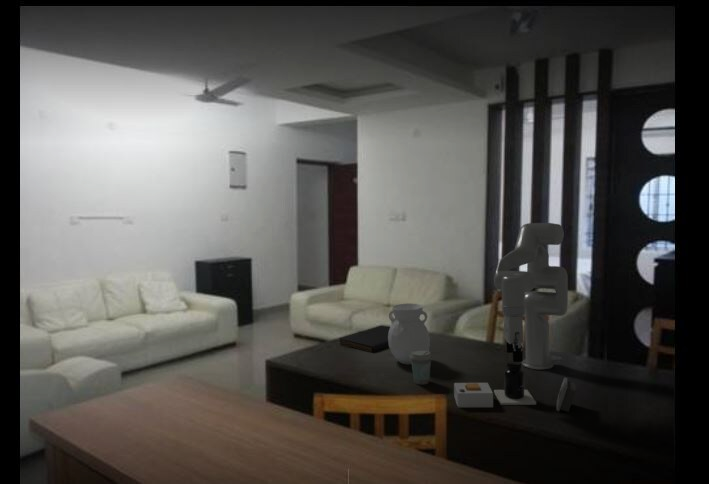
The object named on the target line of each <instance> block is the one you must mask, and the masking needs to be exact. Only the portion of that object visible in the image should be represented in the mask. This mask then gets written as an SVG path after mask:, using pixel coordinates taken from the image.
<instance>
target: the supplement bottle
mask: <svg viewBox="0 0 709 484" xmlns="http://www.w3.org/2000/svg"><path fill="white" fill-rule="evenodd" d="M506 368H507V369H505V370H504V373H503V374H504V376H503V377H504V378H503V379H504V380H503V383H504V385H503V386H504V389H503V390H504V394H505V396H506V397H509V398H513V399H520V398H523V397H524V390H525V372H524V371H523V369H522V362H513V360H509V361H507V362H506Z"/></svg>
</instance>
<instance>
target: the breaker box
mask: <svg viewBox="0 0 709 484" xmlns="http://www.w3.org/2000/svg"><path fill="white" fill-rule="evenodd" d="M466 383H467V382H454V383H453V395H454V396H453V397H454V399H455V403H456V406H458V407H457V408H494V391H492V388H491V387H490V384H489V383H488V382H477V383H478V385H479V387H480V390H475V391H467V390H466Z"/></svg>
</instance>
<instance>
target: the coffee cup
mask: <svg viewBox="0 0 709 484" xmlns="http://www.w3.org/2000/svg"><path fill="white" fill-rule="evenodd" d="M410 358H411V363H412V364H411V369H412V376H413V383H414V384H417V385H420V386H421V385H427V384H429V383H430V376H431V375H430V374H431V364H432V363H431V362H432V358H433V356H432V354H431V351H430V350H429V351H427V350H414V351H412V352H411V355H410Z"/></svg>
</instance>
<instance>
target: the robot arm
mask: <svg viewBox="0 0 709 484" xmlns="http://www.w3.org/2000/svg"><path fill="white" fill-rule="evenodd" d="M564 236H565V233H564V229H563V226H562V225H561V224H559V223H554V222H553V223H552V222H529V223H525V224H523V225H522V226H520V228H519V231H518V235H517V238H516V242H515V245H514V246H515V247H514V249H513V250H511V251H509V252H508V253H507V254H506V255H504V256H503V257H502V258H501V259H500V260H499V261H498V263H497V265H496V268H495V272H494V275H493V276H494V277H493V286H494V288H495V289H496V290H498V291H501V294H502V295H501V301H502V302H501V304H502V305H501V307H502V309H501V310H502V315H503V338H504V339H505V340H506V342H505V343H506V353H508V354H509V353H511V354H512V361H513V362H520V363H521V366H523V367H525V368H527V369H531V370H538V371H539V370H541V371H542V370H549V369H552V368H553V367H554V362H562V357H561V356H556V355H551V354H550V323H549V322H548V320H547V319H546V317H545V316H557V317H562V316H564V315H566V313H567V311H568V304H569V301H568V300H569V299H568V297H569V295H568V294H569V293H568V292H569V290H568V289H569V281H568V280H569V277H568V276H569V275H568V272H567V270H566V268H564V267H563V266H558V265H557V266H556V265H550V264H549V263H550V259H549V257H550V254H549V252H548V250H547V249H546V248H545V246H551V245H552V246H558V245H560V244H562V243H563V240H564V238H565V237H564ZM544 245H545V246H544ZM524 265H527V267H526V268H527V269H526V271H521V270H519V271H518V270H512V269H515V268H517V267H520V266H524ZM533 289H545V290H547V289H548V290H554V291H555V292H553V291H534V290H533ZM532 290H533V291H532ZM523 316H524V320H525V321H524V323H525V325H524V326H525V327H524V326H523V324H524V323H523ZM524 329H525V330H524ZM524 332H525V333H524ZM524 335H525V337H524ZM524 338H525V339H524ZM524 340H525V358H524V359H523V351H524V350H523V345H522V344H523V342H524Z"/></svg>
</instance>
